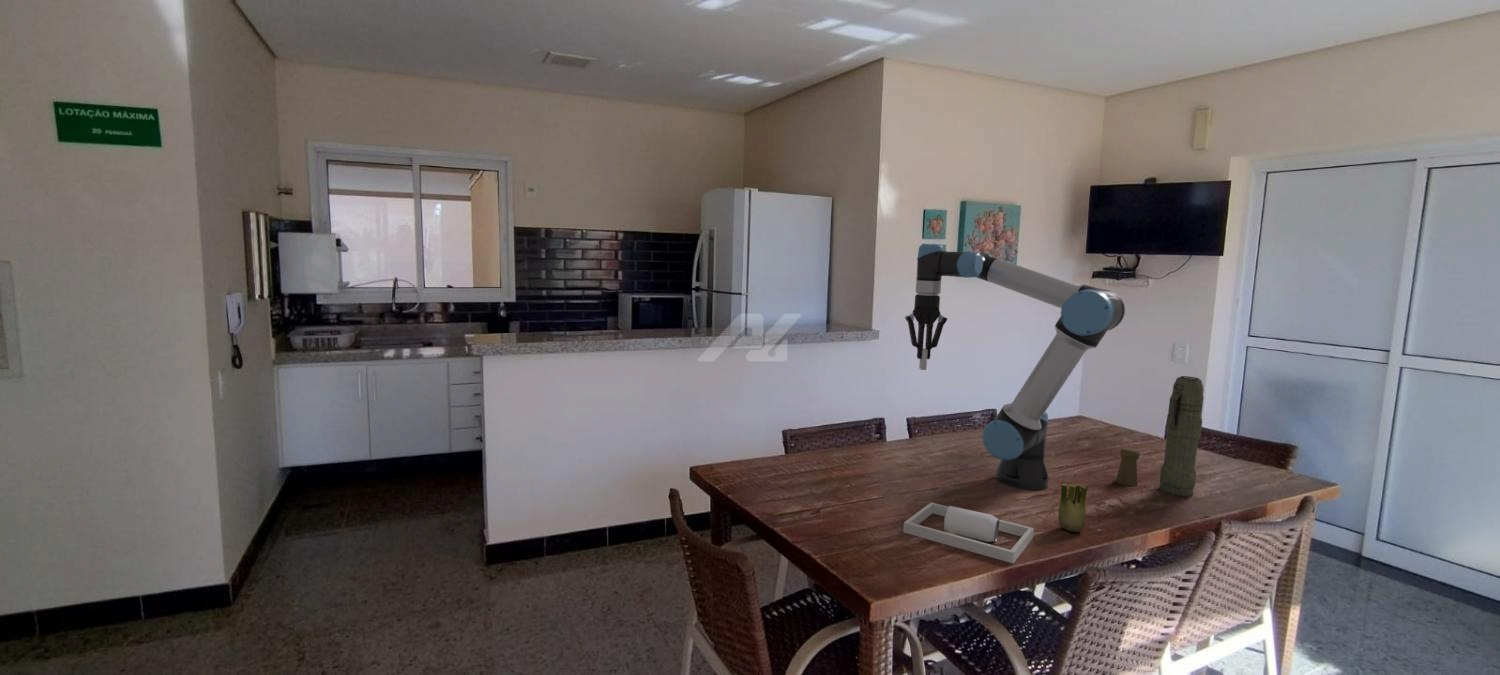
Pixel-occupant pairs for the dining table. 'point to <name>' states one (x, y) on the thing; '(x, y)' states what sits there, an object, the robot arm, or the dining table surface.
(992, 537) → the can
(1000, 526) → the frame
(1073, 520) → the fennel bulb
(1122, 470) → the olive tapered pillar
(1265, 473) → the dining table surface
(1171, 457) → the thermos
